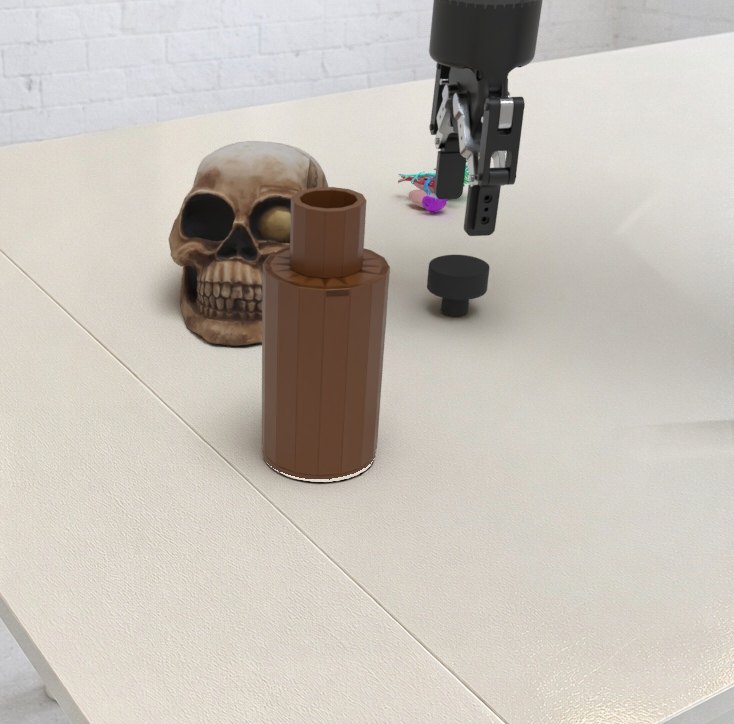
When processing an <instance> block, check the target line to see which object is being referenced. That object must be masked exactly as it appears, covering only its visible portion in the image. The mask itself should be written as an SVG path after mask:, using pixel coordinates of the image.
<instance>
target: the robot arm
mask: <svg viewBox="0 0 734 724" xmlns="http://www.w3.org/2000/svg"><path fill="white" fill-rule="evenodd" d="M542 7H543V0H433V4H432V15H431V25H430V26H431V27H430V36H429V45H428V47H429V48H428V53H429V56H430V58H431V59H432V60H433V61H434V62H436V66H435V67H436V70H435V79H434V80H435V81H434V88H433V97H432V104H431V112H430V113H431V114H430V122H429V123H430V124H429V133H430V135H431V136H435V138H434V139H433V140H434V142H433V143H434V146H435V147H434V148H435V149H436V150H438V151H437V157H436V166H435V168H436V170H435V174H436V175H435V185H434V194H435V195H436V197H437V198H438V199H448V200H457V199H460V198H461V197H462V196H463V193H464V187H463V185H465V183H464V177H465V178H466V176H465V170H466V169H465V168H466V166H467V165H468V171H467V172H468V174H469V176H468V181H469V183H468V187H467V196H466V205H465V211H464V212H465V213H464V220H463V221H464V222H463V231H464V232H465V233H466V234H467V235H468V236H469V237H484V236H486V237H487V236H491V235H493V234H494V232H495V230H496V225H497V218H498V209H499V202H500V194H501V189H502V187H504V186H509V185H512V186H513V185H515V182H516V180H517V179H516V178H517V171H518V164H519V163H518V162H519V155H520V146H521V137H522V129H523V121H524V119H523V118H524V114H525V113H524V112H525V107H526V106H525V104H526V103H525V98H524V96H511V93H510V91H509V78H508V77H509V74H510V73H511V72H512V71H513V70H514V69H516V68H523V67H526V66H527V65H529V64H531V62H532V61H533V60H534V58H535V56H536V51H537V50H536V49H537V42H538V36H539V28H540V21H541V15H542ZM492 160H493V167H491V163H492ZM466 161H468V162H466Z"/></svg>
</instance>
